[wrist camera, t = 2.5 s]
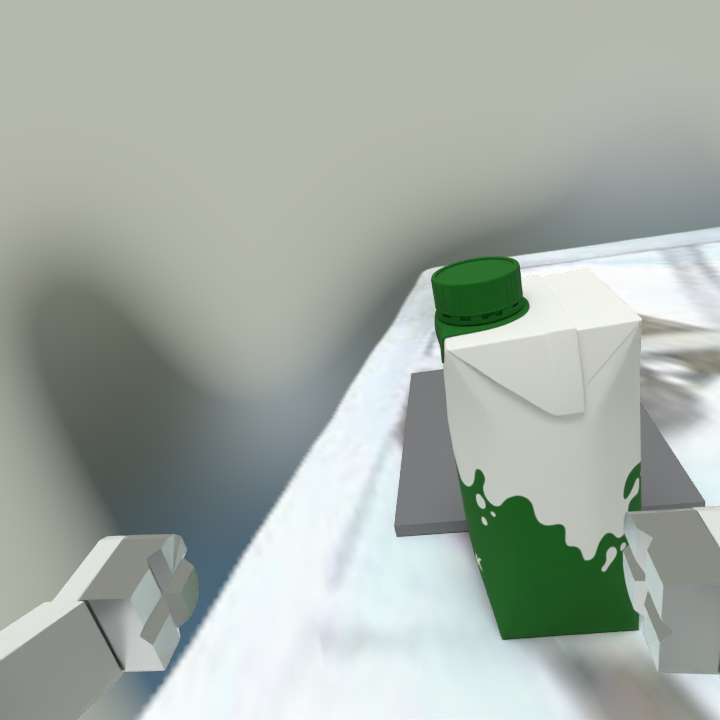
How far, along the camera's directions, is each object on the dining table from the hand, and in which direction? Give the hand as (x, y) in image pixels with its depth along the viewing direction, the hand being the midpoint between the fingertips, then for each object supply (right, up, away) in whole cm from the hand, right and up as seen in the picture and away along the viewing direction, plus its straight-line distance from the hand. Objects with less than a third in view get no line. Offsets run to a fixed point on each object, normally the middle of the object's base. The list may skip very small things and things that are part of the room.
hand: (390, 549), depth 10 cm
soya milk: (+11, -10, +23) cm, 27 cm away
